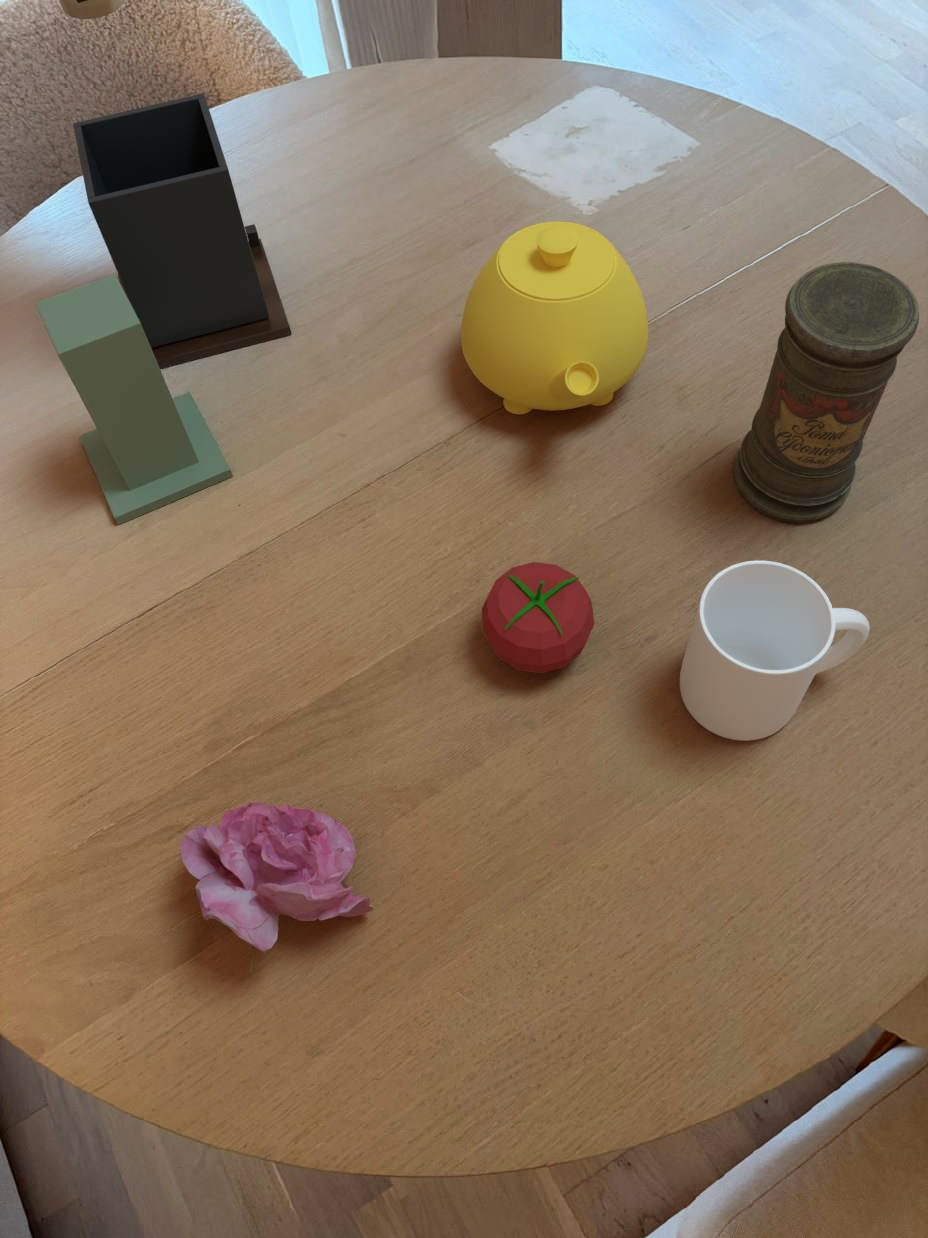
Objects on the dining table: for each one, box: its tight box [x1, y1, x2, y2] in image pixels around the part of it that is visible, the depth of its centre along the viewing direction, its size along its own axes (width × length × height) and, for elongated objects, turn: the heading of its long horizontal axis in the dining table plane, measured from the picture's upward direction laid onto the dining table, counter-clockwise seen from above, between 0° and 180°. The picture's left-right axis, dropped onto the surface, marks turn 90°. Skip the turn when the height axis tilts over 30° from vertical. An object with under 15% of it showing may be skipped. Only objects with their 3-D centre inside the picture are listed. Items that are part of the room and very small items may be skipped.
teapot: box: [460, 220, 649, 415], centre depth 81 cm, size 20×16×14 cm
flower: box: [180, 801, 374, 974], centre depth 62 cm, size 11×10×10 cm
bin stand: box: [114, 223, 293, 370], centre depth 94 cm, size 13×14×3 cm
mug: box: [679, 559, 871, 742], centre depth 67 cm, size 12×8×10 cm
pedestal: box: [34, 273, 234, 525], centre depth 78 cm, size 10×10×16 cm
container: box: [733, 261, 920, 524], centre depth 73 cm, size 9×9×18 cm
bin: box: [72, 93, 269, 348], centre depth 87 cm, size 11×11×15 cm
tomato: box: [481, 561, 595, 674], centre depth 71 cm, size 8×8×8 cm
